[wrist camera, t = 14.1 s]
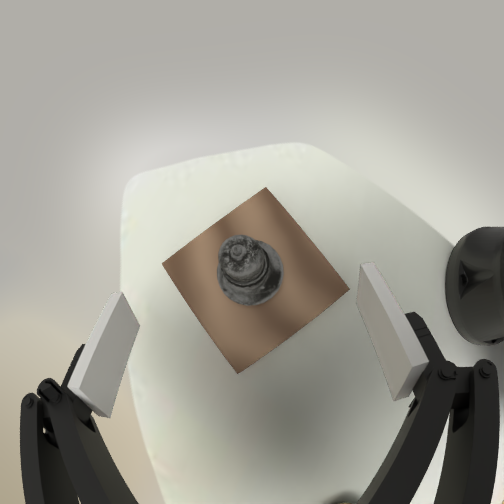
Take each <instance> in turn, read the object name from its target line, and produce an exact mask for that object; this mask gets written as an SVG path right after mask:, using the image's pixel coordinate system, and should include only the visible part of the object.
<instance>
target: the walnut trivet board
mask: <svg viewBox="0 0 504 504" xmlns="http://www.w3.org/2000/svg"><path fill="white" fill-rule="evenodd" d="M234 235H247V236H249V237H252V238H253V239H255V240H259V241H262V242H264V243H266V244H269V245H270V246H271V247H272V248H273V249H275V250H276V252H277V253H278V255H279V256H280V258H281V261H282V264H283V272H284V275H283V280H282V284H281V286H280V288H279V290H278V291H277V293H276V294H275V295H274V296H273V297H272V298H271V299H269V300H268V301H266V302H264V303H261V304H258V305H251V306H246V305H242V304H238V303H236V302H234V301H232V300H230V299H229V298H228V297H227V296H226V295H225V294H224V293H223V291H222V290H221V288H220V286H219V283H218V280H217V267H218V263H219V260H218V253H219V249H220V247H221V245H222V243H223V242H224V241H225V240H226V239H228V238H230V237H231V236H234ZM162 265H163V266H164V268H165V270H166V271H167V273H168V275H169V276H170V278H171V279H172V281H173V282H174V284H175V286H176V287H177V289H178V290H179V292H180V293H181V295H182V296H183V298H184V299H185V301H186V302H187V304H188V305H189V307H190V308H191V310H192V311H193V313H194V314H195V316H196V317H197V319H198V320H199V322H200V323H201V324H202V326H203V327H204V329H205V330H206V332H207V333H208V334H209V336H210V337H211V339H212V340H213V341H214V343H215V344H216V346H217V347H218V348H219V350H220V351H221V352H222V354H223V355H224V357H225V358H226V359H227V361H228V362H229V363H230V365H231V366H232V367H233V369H234V370H235V371H236V372H237V374H238V373H240V372H241V371H243V370H244V369H246V368H247V367H249V366H250V365H252V364H253V363H255V362H256V361H258V360H259V359H260V358H262V357H263V356H265V355H266V354H268V353H269V352H270V351H272V350H273V349H274V348H276V347H277V346H279V345H280V344H281V343H283V342H284V341H285V340H287V339H288V338H289V337H291V336H292V335H293V334H295V333H296V332H297V331H299V330H300V329H301V328H303V327H304V326H305V325H307V324H308V323H309V322H310V321H312V320H313V319H314V318H315V317H317V316H318V315H319V314H321V313H322V312H323V311H324V310H325V309H327V308H328V307H329V306H330V305H332V304H333V303H334V302H335V301H336V300H338V299H339V298H340V297H341V296H342V295H344V294H345V293H346V292H347V291H348V290H350V289H349V287H348V286H347V285H346V284H345V282H344V281H343V280H342V278H341V277H340V276H339V275H338V273H337V272H336V271H335V269H334V268H333V267H332V266H331V264H330V263H329V262H328V261H327V259H326V258H325V257H324V256H323V254H322V253H321V252H320V251H319V249H318V248H317V247H316V246H315V244H314V243H313V242H312V241H311V240H310V238H309V237H308V236H307V235H306V233H305V232H304V231H303V230H302V229H301V227H300V226H299V225H298V224H297V223H296V221H295V220H294V219H293V218H292V217H291V216H290V214H289V213H288V212H287V211H286V210H285V208H284V207H283V206H282V205H281V204H280V203H279V201H278V200H277V199H276V198H275V197H274V196H273V195H272V193H271V192H270V191H269V190H268V189H267V188H266V187H265V188H264V189H262V190H261V191H260V192H258V193H257V194H255V195H254V196H252V197H251V198H250V199H248V200H247V201H245V202H244V203H243V204H241V205H240V206H238V207H237V208H236V209H234V210H233V211H231V212H230V213H229V214H227V215H226V216H224V217H223V218H222V219H220V220H219V221H218V222H216V223H215V224H213V225H212V226H211V227H209V228H208V229H207V230H205V231H204V232H203V233H201V234H200V235H199V236H197V237H196V238H195V239H193V240H192V241H191V242H189V243H188V244H187V245H185V246H184V247H183V248H181V249H180V250H179V251H178V252H176V253H175V254H174V255H172V256H171V257H170V258H168V259H167V260H166V261H165V262H163V263H162Z"/></svg>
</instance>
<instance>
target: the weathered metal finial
mask: <svg viewBox="0 0 504 504" xmlns="http://www.w3.org/2000/svg"><path fill="white" fill-rule="evenodd" d="M218 260H219V263H218V267H217V280H218V283H219V286H220V288H221V290H222V291H223V293H224V294H225V295H226V296H227V297H228V298H229V299H230V300H232V301H234V302H236V303H238V304H242V305H246V306H251V305H258V304H261V303H264V302H266V301H268V300H269V299H271V298H272V297H273V296H274V295H275V294H276V293H277V291H278V290H279V288H280V286H281V284H282V280H283V275H284V272H283V264H282V261H281V258H280V256H279V255H278V253H277V252H276V250H275V249H273V248H272V247H271V246H270V245H269V244H266V243H264V242H262V241H259V240H255V239H253V238H252V237H249V236H247V235H234V236H231V237H230V238H228V239H226V240H225V241H224V242H223V243H222V245H221V247H220V249H219V253H218Z"/></svg>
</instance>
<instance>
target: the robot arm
mask: <svg viewBox="0 0 504 504" xmlns="http://www.w3.org/2000/svg"><path fill="white" fill-rule="evenodd" d="M446 297H447V304H448V308H449V312H450V315H451V318H452V321H453V323H454V325H455V327H456V328H457V330H458V331H459V333H460V334H461V335H462V336H463V337H464V338H465V339H466V340H467V341H469V342H471V343H473V344H477V345H494V344H498V343H500V342H502V341H504V227H481V228H478V229H476V230H474V231H472V232H470V233H468V234H467V235H465V236H464V237H462V238H461V239H460V240H459V241H458V243H457V244H456V246H455V247H454V249H453V251H452V254H451V256H450V259H449V263H448V267H447V274H446ZM356 304H357V306H358V309H359V311H360V313H361V316H362V318H363V321H364V323H365V325H366V328H367V330H368V333H369V335H370V338H371V340H372V343H373V345H374V348H375V351H376V353H377V356H378V358H379V361H380V364H381V367H382V369H383V372H384V375H385V378H386V380H387V383H388V386H389V389H390V392H391V395H392V398H393V401H396V400H399V399H402V398H406V397H409V395H410V394H411V392H412V390H413V392H414V395H415V398H414V399H413V401H412V402H411V404H410V405H409V407H410V409H409V411H408V414H407V416H406V418H405V420H404V423H403V425H402V427H401V429H400V431H399V433H398V435H397V437H396V439H395V441H394V443H393V445H392V447H391V449H390V451H389V453H388V454H387V456H386V458H385V460H384V462H383V463H382V465H381V467H380V468H379V470H378V472H377V473H376V475H375V477H374V478H373V480H372V482H371V483H370V485H369V486H368V488H367V489H366V491H365V492H364V494H363V495H362V497H361V498H360V500H359V501H358V502H357V504H410V502H411V500H412V498H413V497H414V495H415V493H416V491H417V489H418V487H419V485H420V483H421V481H422V479H423V477H424V475H425V473H426V471H427V469H428V467H429V465H430V463H431V460H432V458H433V456H434V453H435V451H436V448H437V446H438V443H439V441H440V438H441V436H442V433H443V430H444V427H445V424H446V422H447V419H448V415H449V412H450V415H449V426H448V435H447V443H446V449H445V456H444V461H443V467H442V472H441V476H440V481H439V485H438V489H437V493H436V497H435V501H434V504H490V503H491V499H492V494H493V489H494V483H495V476H496V469H497V460H498V449H499V428H500V409H499V387H498V376H497V369H496V366H495V365H494V364H493V363H492V362H491V361H490V360H487V359H481V360H479V361H477V362H476V364H475V365H474V367H456V365H455V364H454V363H452V362H450V361H446V360H445V358H444V356H443V354H442V353H441V351H440V349H439V347H438V345H437V343H436V341H435V340H434V338H433V336H432V335H431V332H430V331H429V329H428V328H427V325H426V324H425V322H424V320H423V318H421V317H420V316H419V315H418V314H417V313H415V312H411V313H407V314H404V312H403V311H402V309H401V307H400V305H399V303H398V302H397V300H396V298H395V296H394V295H393V293H392V291H391V290H390V288H389V286H388V285H387V283H386V281H385V280H384V278H383V276H382V275H381V273H380V271H379V270H378V268H377V267H376V265H375V263H374V262H371V263H364V264H360V274H359V284H358V292H357V300H356ZM139 327H140V325H139V323H138V321H137V319H136V317H135V315H134V313H133V311H132V310H131V308H130V306H129V304H128V302H127V300H126V298H125V296H124V294H123V292H116V293H112V294H111V296H110V298H109V299H108V301H107V303H106V305H105V307H104V309H103V311H102V312H101V314H100V316H99V318H98V320H97V322H96V324H95V326H94V328H93V330H92V332H91V335H90V336H89V338H88V341H87V343H86V344H82V346H81V347H80V348H79V349H78V350H77V352H76V354H75V356H74V358H73V360H72V362H71V366H70V367H69V369H68V372H67V373H66V376H65V378H64V380H63V383H62V385H61V387H60V386H59V385H58V384H57V383H56V382H55V380H53V379H51V378H47V379H44V380H43V381H42V382H41V383H40V384H39V386H38V389H37V395H38V396H40V397H41V398H39V397H37V396H36V395H35V394H34V393H29V394H27V395H26V396H25V397H24V398H23V400H22V403H21V416H20V455H21V470H22V481H23V489H24V496H25V502H26V504H79V501H78V497H79V500H80V502H81V504H138V502H137V501H136V499H135V497H134V496H133V494H132V493H131V491H130V489H129V488H128V486H127V485H126V483H125V481H124V479H123V478H122V476H121V474H120V472H119V470H118V469H117V467H116V465H115V463H114V461H113V459H112V457H111V455H110V453H109V451H108V449H107V447H106V445H105V443H104V441H103V439H102V436H101V434H100V432H99V430H98V427H97V425H96V423H95V420H94V418H93V417H92V416H91V413H92V411H94V413H96V414H97V415H98V416H101V417H107V418H110V417H111V413H112V409H113V406H114V403H115V399H116V396H117V392H118V389H119V386H120V383H121V380H122V377H123V373H124V370H125V367H126V364H127V361H128V358H129V356H130V353H131V350H132V347H133V344H134V341H135V338H136V336H137V333H138V330H139ZM43 428H45V430H46V432H45V433H43ZM77 495H78V496H77Z"/></svg>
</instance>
